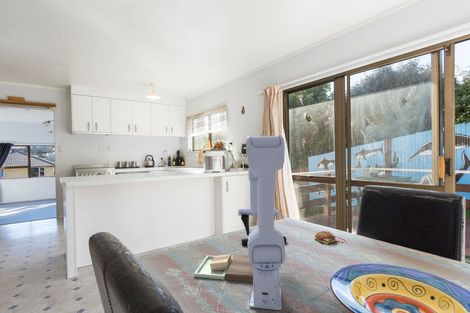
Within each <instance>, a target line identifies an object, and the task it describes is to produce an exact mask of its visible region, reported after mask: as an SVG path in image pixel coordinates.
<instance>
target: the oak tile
mask: <svg viewBox="0 0 470 313" xmlns="http://www.w3.org/2000/svg"><path fill="white" fill-rule="evenodd" d="M214 256H215V257H214V258H213V260H212V261H211V263H210V267H211V271H217V270H226V269H228V268H229V265H230V263H231V261H232V258H231V257H232V254H231V253H230V254H221V255H214Z"/></svg>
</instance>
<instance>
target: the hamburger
mask: <svg viewBox="0 0 470 313" xmlns="http://www.w3.org/2000/svg"><path fill="white" fill-rule="evenodd" d="M336 237H337V239H336ZM314 239H315V240H316V241H317V242H318V243H321V244H325V245H328V244H331V243H332V244H333V242H337V241H338V242H337V243H341V244H343V243H345V242H346V243H345V244H347V241H346V240H345V239H343V238H342V237H339V238H338V236H335V235H334V234H333V233H332V232H330V231H326V230H321V231H318V232H316V234H315V235H314ZM338 239H340V240H338ZM343 240H344V241H345V242H344V241H343Z"/></svg>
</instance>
